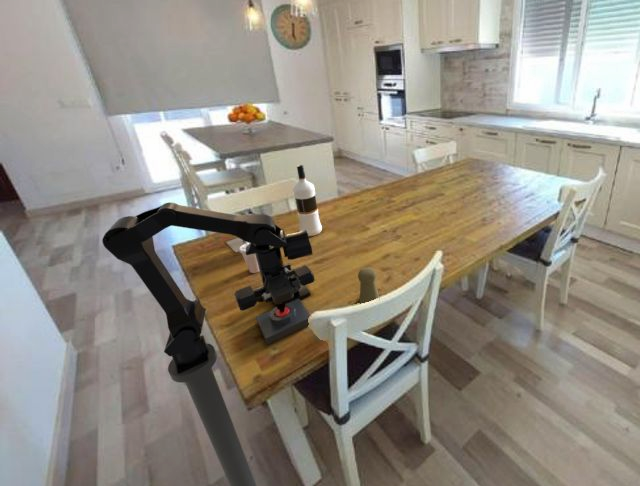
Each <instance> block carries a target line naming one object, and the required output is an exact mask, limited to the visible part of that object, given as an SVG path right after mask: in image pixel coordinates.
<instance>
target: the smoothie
mask: <svg viewBox="0 0 640 486" xmlns="http://www.w3.org/2000/svg"><path fill="white" fill-rule="evenodd" d="M245 242H246V241H245ZM249 244H250V243H248V242H246V244H244V245H242V246H241V247H240V248H239V250H240V251H239V253H240V254H241V256H242V258H243V259H244V262H245V264H246V267H247V268H248V271H249V273H250V274H256V273H260V270H259V266H258V262H257V258H256V255H255V254H251V255H246V247H247V246H248V245H249Z"/></svg>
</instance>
